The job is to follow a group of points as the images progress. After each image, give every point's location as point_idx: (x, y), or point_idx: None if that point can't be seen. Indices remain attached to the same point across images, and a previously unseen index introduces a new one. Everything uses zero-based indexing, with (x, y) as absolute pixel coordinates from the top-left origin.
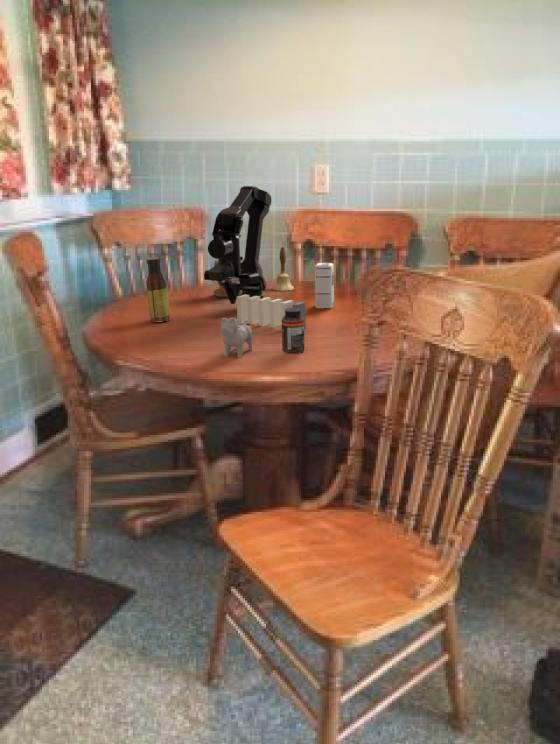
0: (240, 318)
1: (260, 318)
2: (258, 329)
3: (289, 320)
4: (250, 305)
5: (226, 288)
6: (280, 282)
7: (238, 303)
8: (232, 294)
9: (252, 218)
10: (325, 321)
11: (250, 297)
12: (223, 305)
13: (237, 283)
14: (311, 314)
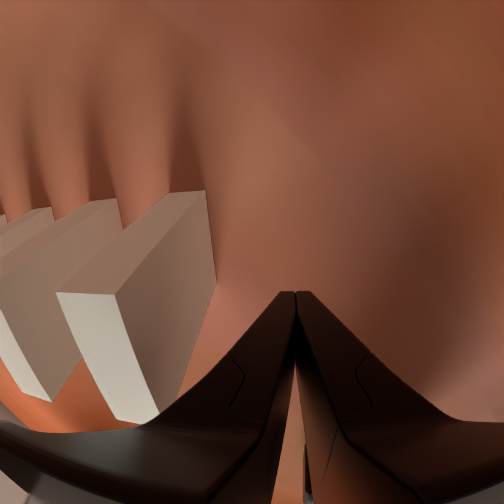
0: (166, 201)
1: (14, 223)
2: (7, 147)
3: None
4: (11, 253)
5: (378, 416)
6: None
7: (125, 251)
8: (241, 352)
9: None
10: (3, 372)
11: (12, 334)
12: (488, 400)
13: (29, 495)
14: (92, 431)
